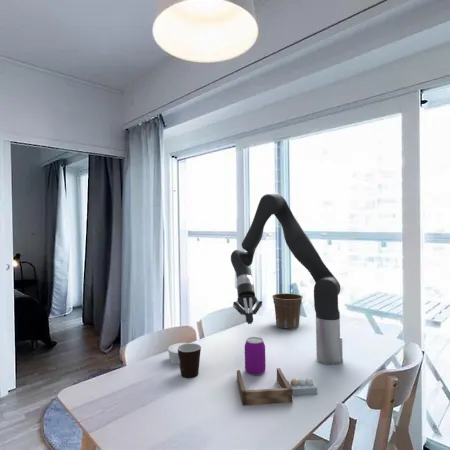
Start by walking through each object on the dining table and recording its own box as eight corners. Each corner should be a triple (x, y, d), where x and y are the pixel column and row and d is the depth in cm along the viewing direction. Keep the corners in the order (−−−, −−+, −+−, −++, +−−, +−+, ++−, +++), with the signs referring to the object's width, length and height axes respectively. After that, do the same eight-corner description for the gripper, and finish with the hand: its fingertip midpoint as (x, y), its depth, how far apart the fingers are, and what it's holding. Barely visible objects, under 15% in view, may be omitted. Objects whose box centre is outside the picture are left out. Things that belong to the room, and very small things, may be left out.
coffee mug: (197, 380, 115) (197, 352, 115) (174, 379, 117) (174, 351, 117) (206, 366, 126) (205, 341, 126) (184, 365, 128) (184, 339, 128)
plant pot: (286, 319, 188) (285, 291, 188) (309, 326, 175) (308, 296, 175) (266, 325, 177) (266, 295, 178) (289, 332, 165) (288, 300, 165)
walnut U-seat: (280, 379, 115) (279, 368, 115) (292, 402, 100) (292, 389, 100) (236, 381, 114) (236, 370, 114) (242, 405, 98) (242, 392, 99)
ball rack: (310, 384, 111) (310, 373, 111) (316, 393, 105) (316, 382, 105) (287, 386, 110) (287, 374, 110) (292, 395, 104) (292, 383, 104)
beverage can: (261, 366, 126) (261, 335, 126) (268, 375, 118) (267, 342, 118) (242, 368, 124) (242, 337, 124) (248, 377, 117) (247, 344, 117)
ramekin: (194, 366, 127) (194, 352, 127) (165, 366, 127) (165, 353, 127) (196, 354, 139) (196, 342, 139) (170, 355, 139) (170, 342, 139)
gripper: (231, 282, 141) (234, 318, 129) (261, 281, 142) (267, 317, 130) (230, 292, 146) (233, 328, 134) (259, 291, 147) (264, 326, 135)
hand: (250, 322), depth 132 cm, fingers closed
